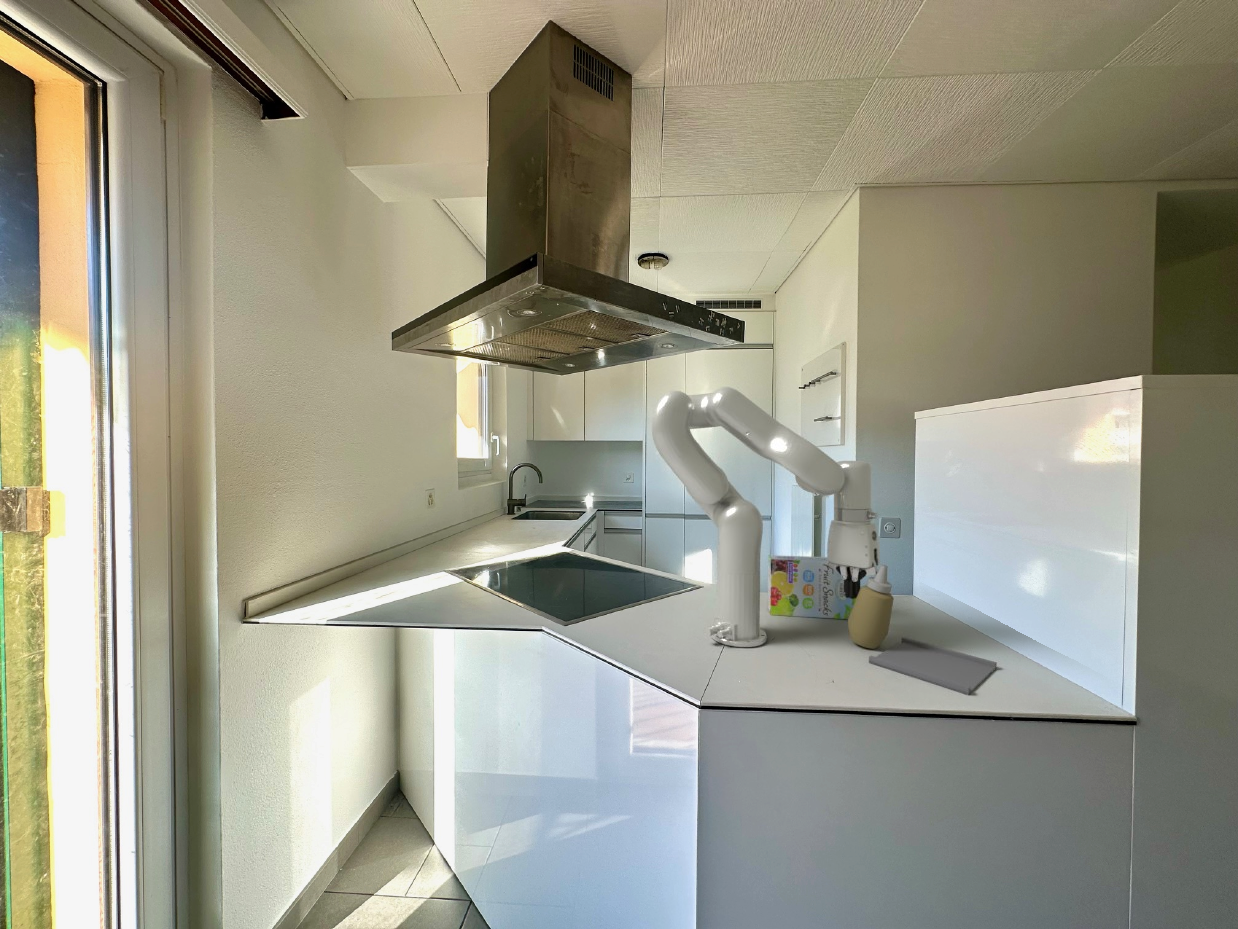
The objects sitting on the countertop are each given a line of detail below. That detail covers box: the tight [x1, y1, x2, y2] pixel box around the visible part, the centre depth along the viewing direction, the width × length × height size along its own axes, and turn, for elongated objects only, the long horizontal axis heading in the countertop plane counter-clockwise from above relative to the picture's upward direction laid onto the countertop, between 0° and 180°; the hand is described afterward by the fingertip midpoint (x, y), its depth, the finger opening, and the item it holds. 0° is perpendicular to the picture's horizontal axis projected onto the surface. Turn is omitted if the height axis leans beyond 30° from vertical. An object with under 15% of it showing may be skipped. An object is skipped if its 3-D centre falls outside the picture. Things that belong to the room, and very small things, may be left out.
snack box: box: [767, 554, 856, 620], centre depth 128 cm, size 21×6×15 cm, turn 80°
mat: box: [868, 636, 998, 696], centre depth 98 cm, size 17×17×1 cm
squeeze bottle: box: [847, 564, 894, 650], centre depth 107 cm, size 8×8×18 cm
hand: (852, 597), depth 110 cm, fingers closed
